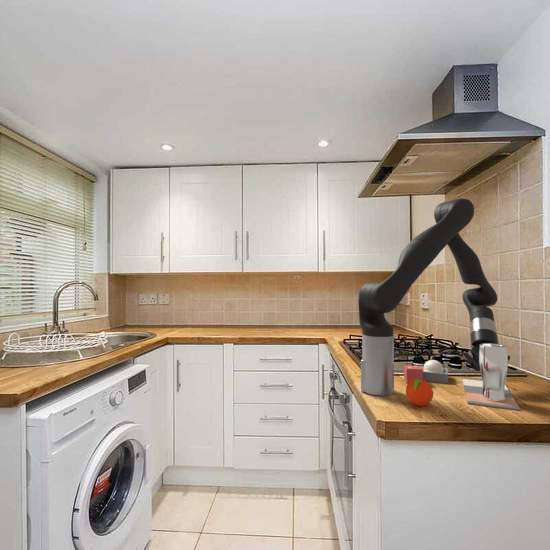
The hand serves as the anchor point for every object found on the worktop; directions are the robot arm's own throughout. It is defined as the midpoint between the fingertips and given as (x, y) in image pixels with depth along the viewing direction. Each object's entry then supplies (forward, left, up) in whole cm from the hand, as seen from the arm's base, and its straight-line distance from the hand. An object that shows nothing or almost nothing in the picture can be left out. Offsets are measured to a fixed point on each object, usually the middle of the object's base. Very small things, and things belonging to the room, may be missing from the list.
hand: (488, 383), depth 103 cm
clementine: (-18, -17, -4) cm, 25 cm away
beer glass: (+1, -3, -4) cm, 5 cm away
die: (-21, +6, -4) cm, 22 cm away
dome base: (-15, +14, -4) cm, 21 cm away
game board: (0, +4, -4) cm, 6 cm away
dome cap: (-15, +14, -4) cm, 21 cm away
